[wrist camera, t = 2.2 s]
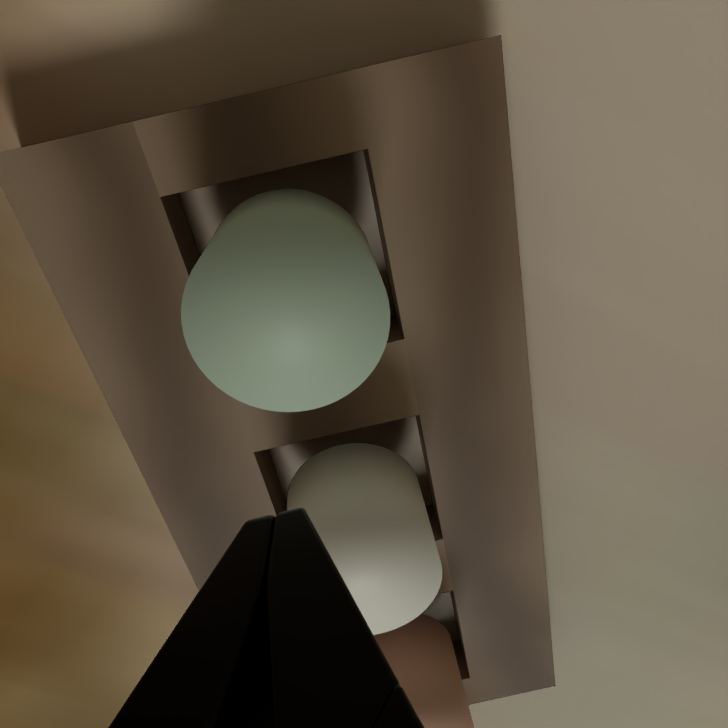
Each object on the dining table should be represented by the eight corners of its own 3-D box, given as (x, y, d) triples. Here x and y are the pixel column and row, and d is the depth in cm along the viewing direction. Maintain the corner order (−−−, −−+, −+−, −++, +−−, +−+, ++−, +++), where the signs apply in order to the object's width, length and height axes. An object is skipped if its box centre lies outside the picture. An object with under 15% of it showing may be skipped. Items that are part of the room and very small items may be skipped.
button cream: (408, 429, 20) (429, 504, 17) (429, 532, 22) (452, 617, 19) (271, 460, 20) (263, 541, 17) (306, 560, 22) (305, 650, 19)
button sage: (354, 171, 16) (367, 196, 13) (386, 328, 18) (406, 388, 15) (183, 210, 16) (148, 246, 13) (236, 363, 18) (220, 430, 15)
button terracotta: (443, 601, 24) (466, 690, 21) (458, 673, 26) (481, 765, 23) (329, 626, 24) (333, 720, 21) (354, 696, 27) (361, 792, 23)
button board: (480, 40, 17) (500, 34, 15) (540, 649, 29) (555, 685, 28) (20, 147, 17) (-14, 155, 15) (277, 707, 30) (275, 747, 28)
